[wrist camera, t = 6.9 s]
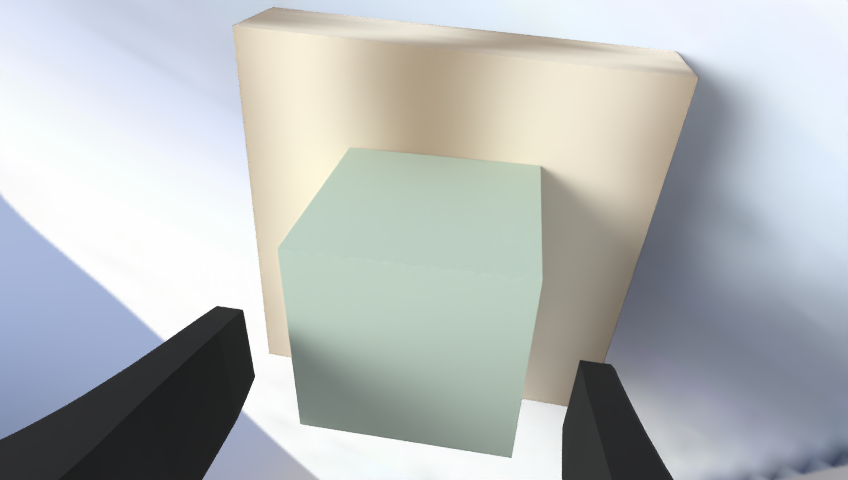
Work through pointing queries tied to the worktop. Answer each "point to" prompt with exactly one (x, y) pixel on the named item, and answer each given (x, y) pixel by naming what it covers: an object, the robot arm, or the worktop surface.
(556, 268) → the birch block
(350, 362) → the sage cube
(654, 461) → the robot arm
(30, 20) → the worktop surface
